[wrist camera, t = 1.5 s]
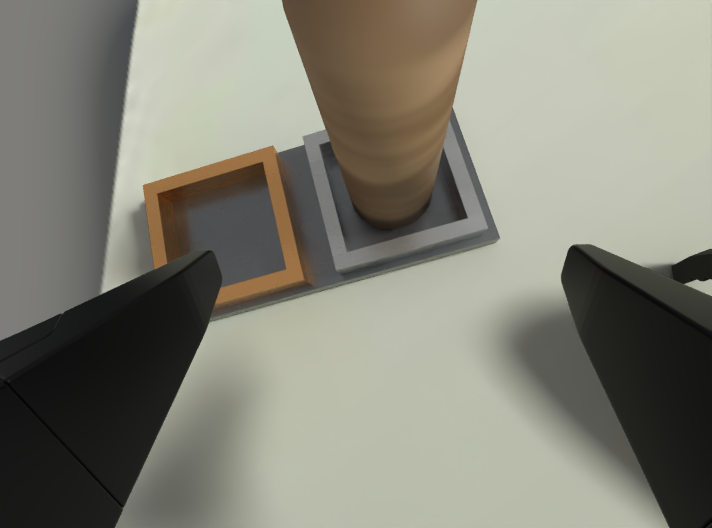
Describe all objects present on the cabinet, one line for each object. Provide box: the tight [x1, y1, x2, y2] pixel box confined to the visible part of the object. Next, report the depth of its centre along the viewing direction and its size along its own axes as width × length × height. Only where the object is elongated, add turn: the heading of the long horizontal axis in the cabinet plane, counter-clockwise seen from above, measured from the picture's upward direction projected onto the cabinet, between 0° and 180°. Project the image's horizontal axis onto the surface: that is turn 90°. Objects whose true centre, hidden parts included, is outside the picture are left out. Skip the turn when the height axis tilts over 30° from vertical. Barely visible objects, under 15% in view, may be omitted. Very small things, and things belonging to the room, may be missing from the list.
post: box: [282, 0, 477, 230], centre depth 15 cm, size 5×5×13 cm
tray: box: [143, 107, 500, 322], centre depth 21 cm, size 20×9×2 cm, turn 105°
